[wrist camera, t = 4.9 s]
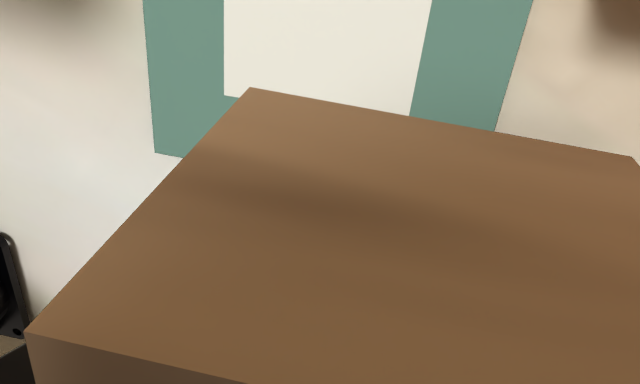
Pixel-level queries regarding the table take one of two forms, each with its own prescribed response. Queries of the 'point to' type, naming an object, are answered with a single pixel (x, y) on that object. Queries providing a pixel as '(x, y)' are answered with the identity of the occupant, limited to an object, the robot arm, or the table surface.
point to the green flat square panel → (329, 58)
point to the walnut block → (360, 260)
